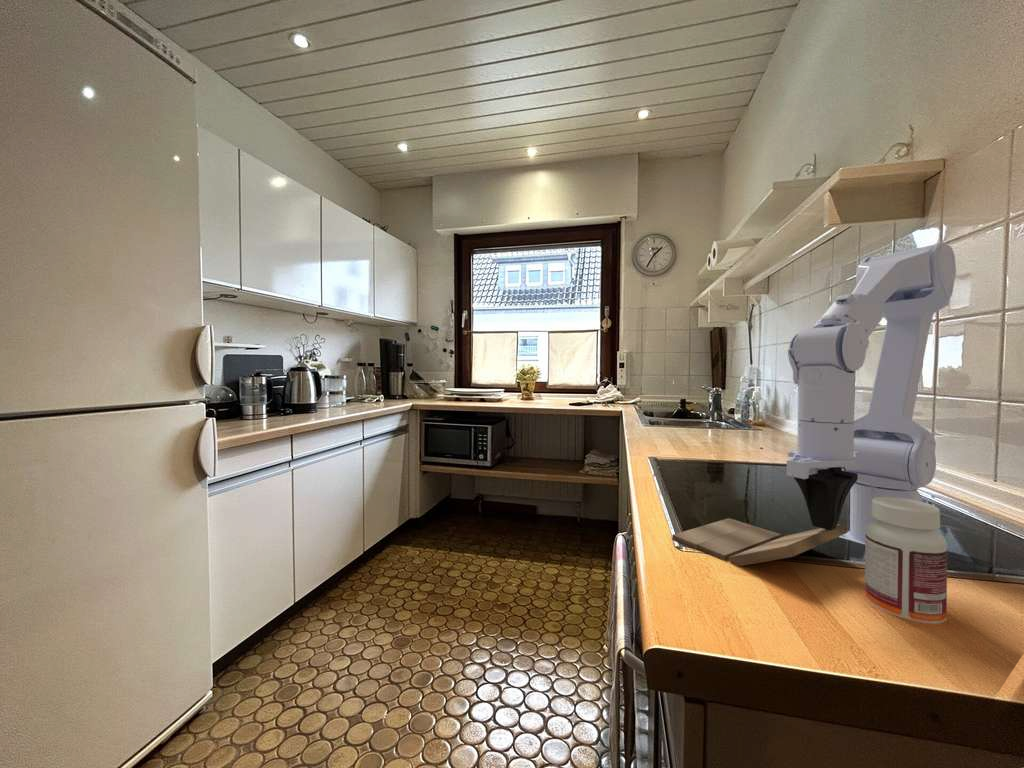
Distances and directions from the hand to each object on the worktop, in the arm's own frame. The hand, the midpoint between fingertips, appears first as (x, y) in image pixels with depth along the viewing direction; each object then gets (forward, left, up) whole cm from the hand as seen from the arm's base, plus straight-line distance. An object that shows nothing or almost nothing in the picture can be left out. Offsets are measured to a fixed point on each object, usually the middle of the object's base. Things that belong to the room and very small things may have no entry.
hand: (823, 527), depth 52 cm
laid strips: (+3, -11, -5) cm, 13 cm away
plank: (+3, -2, -3) cm, 5 cm away
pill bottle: (+4, +9, -6) cm, 11 cm away
